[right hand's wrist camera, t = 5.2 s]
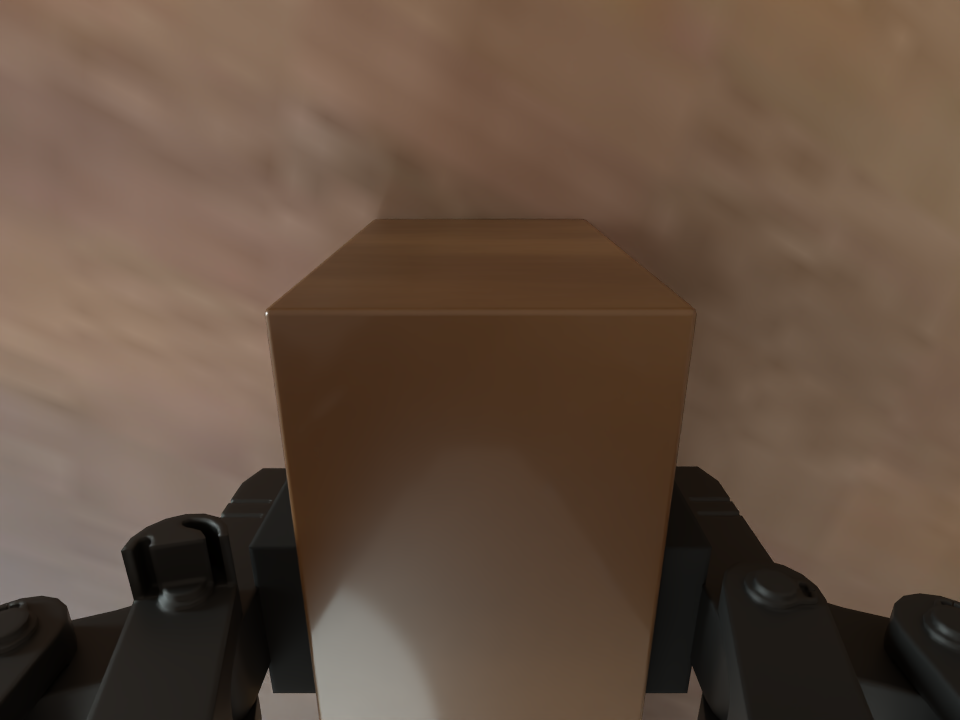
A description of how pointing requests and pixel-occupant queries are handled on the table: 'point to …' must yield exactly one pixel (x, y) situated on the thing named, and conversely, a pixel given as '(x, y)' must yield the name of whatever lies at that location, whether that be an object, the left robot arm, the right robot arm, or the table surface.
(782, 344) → the table surface
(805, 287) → the table surface
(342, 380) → the bar
